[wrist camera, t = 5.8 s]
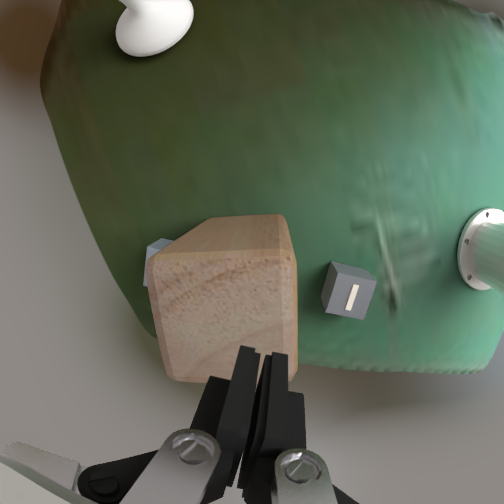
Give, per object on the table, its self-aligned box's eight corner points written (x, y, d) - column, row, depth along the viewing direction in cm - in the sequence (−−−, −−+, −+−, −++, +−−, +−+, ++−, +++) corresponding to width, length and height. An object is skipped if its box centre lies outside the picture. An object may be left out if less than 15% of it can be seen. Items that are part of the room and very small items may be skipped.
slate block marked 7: (197, 246, 39) (186, 256, 34) (191, 281, 40) (180, 296, 35) (162, 238, 39) (146, 246, 34) (157, 273, 40) (142, 286, 35)
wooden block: (288, 289, 39) (297, 387, 20) (212, 292, 40) (163, 385, 21) (285, 212, 37) (297, 251, 18) (205, 217, 38) (137, 258, 18)
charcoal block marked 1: (365, 269, 38) (377, 282, 33) (354, 303, 39) (364, 320, 34) (330, 260, 38) (338, 273, 33) (320, 296, 39) (325, 313, 34)
